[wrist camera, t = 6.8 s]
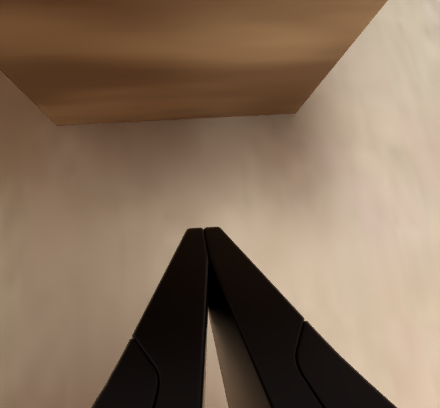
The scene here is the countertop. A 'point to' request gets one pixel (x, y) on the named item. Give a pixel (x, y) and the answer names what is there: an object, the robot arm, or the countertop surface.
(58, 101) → the recipe box
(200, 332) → the robot arm
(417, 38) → the countertop surface
